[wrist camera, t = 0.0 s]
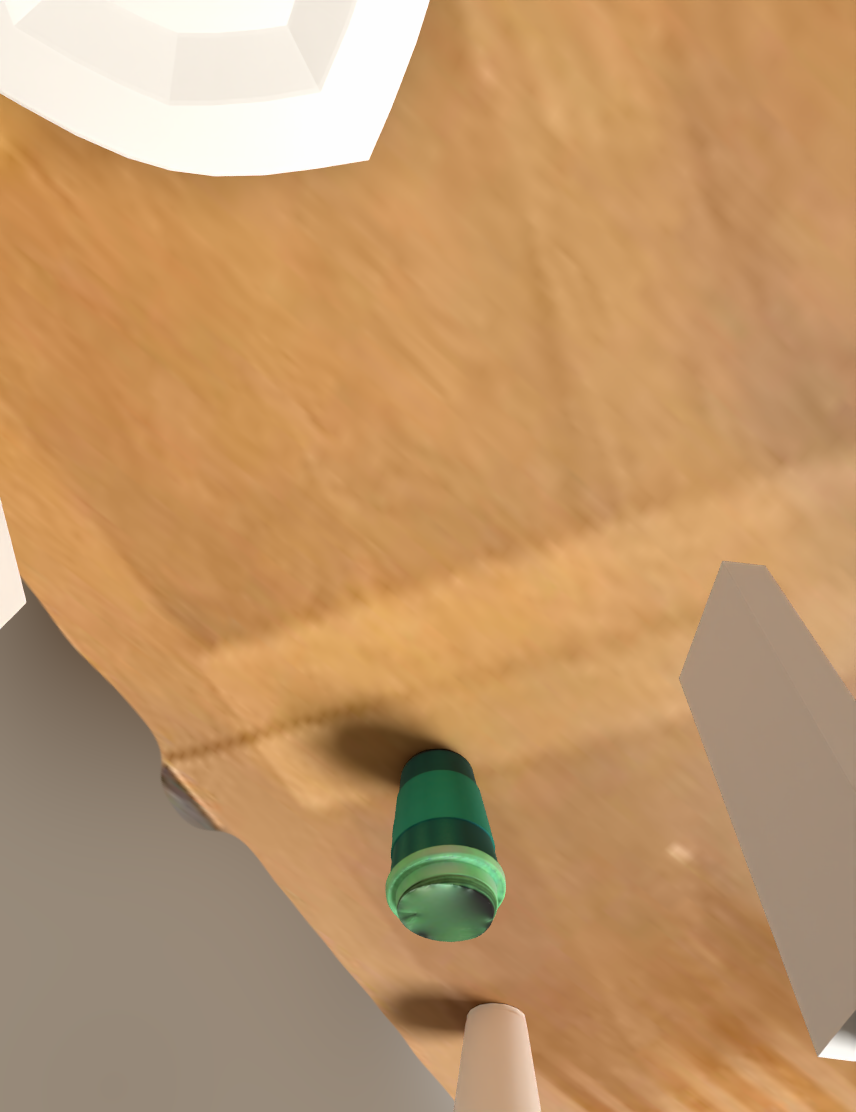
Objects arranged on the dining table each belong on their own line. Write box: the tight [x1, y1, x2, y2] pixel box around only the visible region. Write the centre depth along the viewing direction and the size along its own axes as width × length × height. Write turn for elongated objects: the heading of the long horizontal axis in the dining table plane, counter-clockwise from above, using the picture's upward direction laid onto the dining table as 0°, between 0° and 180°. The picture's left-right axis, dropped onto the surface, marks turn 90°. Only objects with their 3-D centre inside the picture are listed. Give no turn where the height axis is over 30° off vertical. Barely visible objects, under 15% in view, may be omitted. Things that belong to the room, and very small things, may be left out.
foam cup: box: [454, 1003, 541, 1112], centre depth 69 cm, size 10×9×13 cm
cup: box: [386, 749, 506, 942], centre depth 50 cm, size 8×8×12 cm
